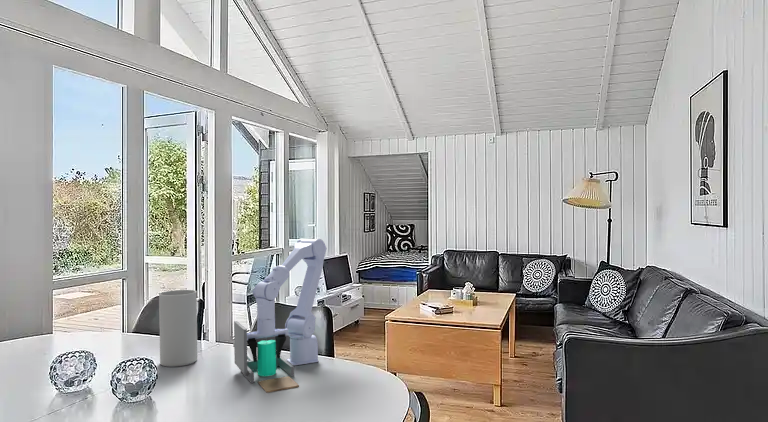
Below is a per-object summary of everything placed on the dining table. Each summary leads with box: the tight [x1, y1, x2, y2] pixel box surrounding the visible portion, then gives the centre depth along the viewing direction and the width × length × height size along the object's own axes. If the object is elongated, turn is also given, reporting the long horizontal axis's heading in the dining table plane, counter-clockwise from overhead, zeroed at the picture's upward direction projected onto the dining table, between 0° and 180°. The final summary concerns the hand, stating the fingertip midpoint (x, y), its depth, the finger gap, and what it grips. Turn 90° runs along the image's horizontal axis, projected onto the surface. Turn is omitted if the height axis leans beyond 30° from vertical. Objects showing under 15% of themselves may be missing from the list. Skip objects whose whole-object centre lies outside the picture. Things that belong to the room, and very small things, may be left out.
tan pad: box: [257, 375, 300, 394], centre depth 160 cm, size 10×10×1 cm
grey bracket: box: [232, 320, 295, 384], centre depth 171 cm, size 16×15×17 cm
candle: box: [256, 337, 277, 377], centre depth 171 cm, size 6×6×12 cm
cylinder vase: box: [158, 289, 198, 368], centre depth 186 cm, size 12×12×25 cm
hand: (266, 359), depth 171 cm, fingers open, 7 cm apart
